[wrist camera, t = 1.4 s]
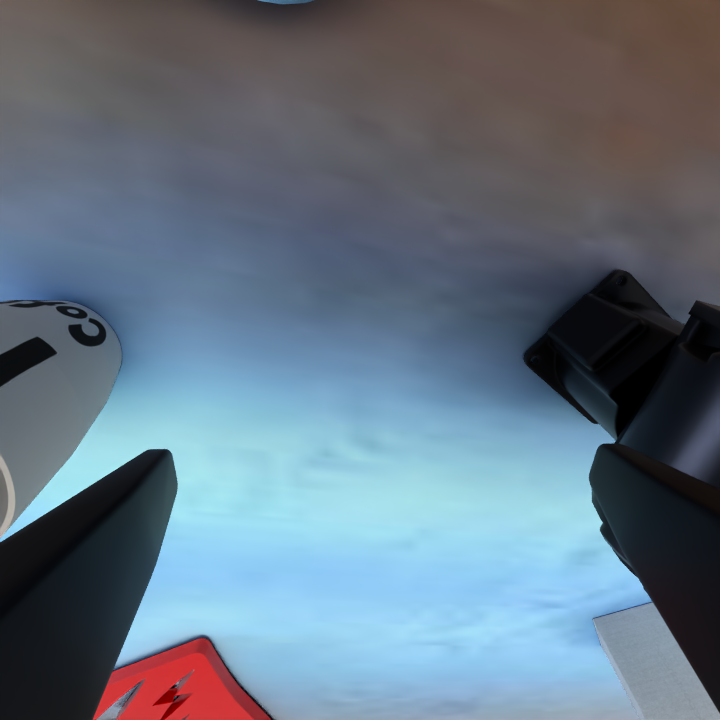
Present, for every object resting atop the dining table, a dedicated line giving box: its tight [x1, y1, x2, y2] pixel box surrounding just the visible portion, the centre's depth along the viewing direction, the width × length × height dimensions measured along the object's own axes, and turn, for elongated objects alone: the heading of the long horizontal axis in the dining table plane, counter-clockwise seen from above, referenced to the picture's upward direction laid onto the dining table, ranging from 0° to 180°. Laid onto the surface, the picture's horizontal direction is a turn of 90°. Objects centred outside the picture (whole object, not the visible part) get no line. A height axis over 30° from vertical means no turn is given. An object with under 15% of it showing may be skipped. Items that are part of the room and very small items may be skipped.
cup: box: [0, 300, 122, 538], centre depth 18 cm, size 8×8×10 cm
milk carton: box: [593, 602, 720, 720], centre depth 27 cm, size 4×7×10 cm, turn 114°
